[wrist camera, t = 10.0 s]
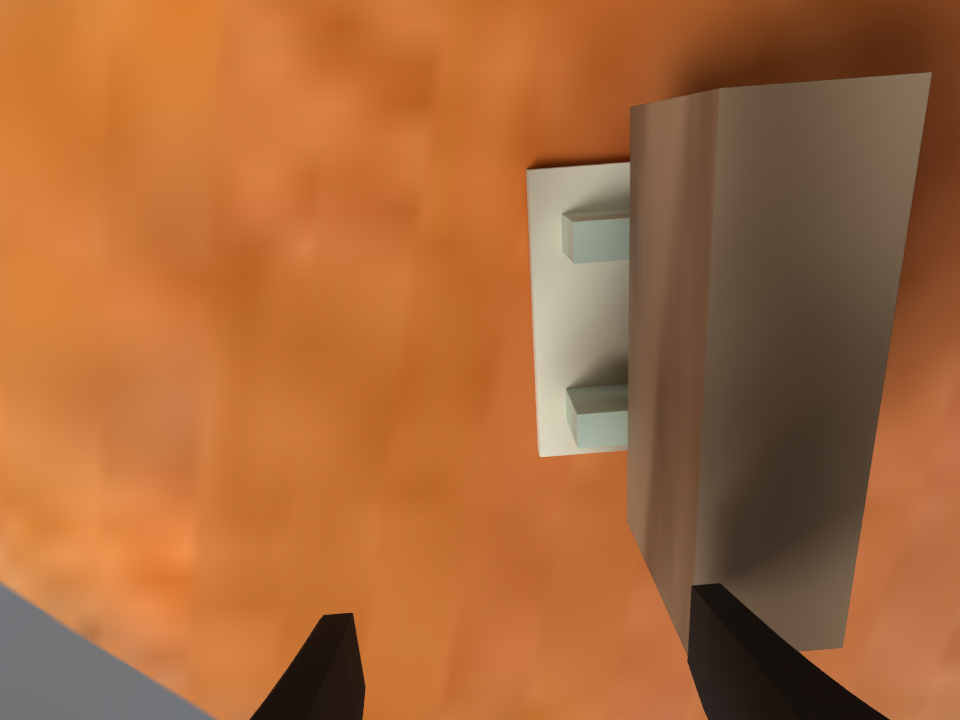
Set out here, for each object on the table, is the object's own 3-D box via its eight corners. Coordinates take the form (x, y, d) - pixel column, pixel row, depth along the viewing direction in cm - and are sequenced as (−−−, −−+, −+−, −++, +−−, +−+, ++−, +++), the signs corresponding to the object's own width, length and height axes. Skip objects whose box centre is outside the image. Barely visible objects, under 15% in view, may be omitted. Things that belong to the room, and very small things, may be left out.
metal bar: (770, 96, 17) (931, 72, 11) (738, 511, 21) (842, 647, 15) (630, 107, 17) (719, 88, 11) (626, 520, 21) (689, 660, 15)
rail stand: (805, 148, 20) (858, 149, 17) (777, 430, 23) (818, 467, 21) (526, 169, 20) (536, 173, 17) (537, 449, 23) (548, 488, 20)
